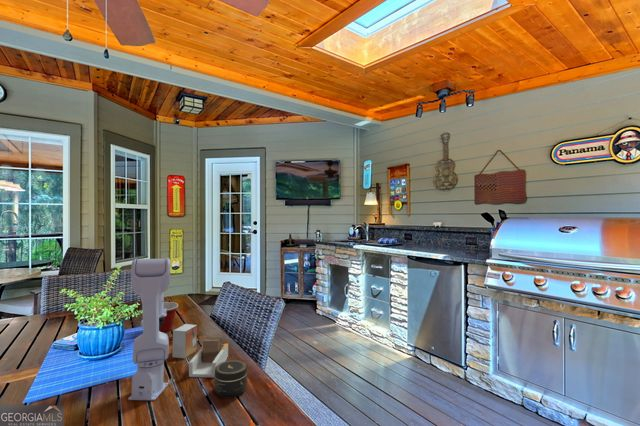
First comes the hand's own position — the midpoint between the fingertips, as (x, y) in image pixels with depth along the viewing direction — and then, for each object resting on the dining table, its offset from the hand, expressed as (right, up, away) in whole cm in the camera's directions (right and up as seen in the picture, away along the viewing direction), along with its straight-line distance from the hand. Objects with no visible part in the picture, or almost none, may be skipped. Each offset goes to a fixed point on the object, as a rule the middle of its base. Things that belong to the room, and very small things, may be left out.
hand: (153, 339), depth 117 cm
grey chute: (+19, -11, +3) cm, 22 cm away
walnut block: (+19, -10, +6) cm, 22 cm away
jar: (+31, -11, -13) cm, 35 cm away
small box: (+6, -11, +13) cm, 18 cm away
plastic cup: (-14, -10, +38) cm, 41 cm away
